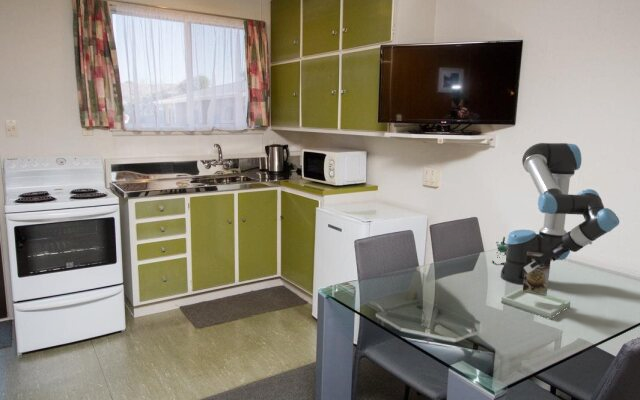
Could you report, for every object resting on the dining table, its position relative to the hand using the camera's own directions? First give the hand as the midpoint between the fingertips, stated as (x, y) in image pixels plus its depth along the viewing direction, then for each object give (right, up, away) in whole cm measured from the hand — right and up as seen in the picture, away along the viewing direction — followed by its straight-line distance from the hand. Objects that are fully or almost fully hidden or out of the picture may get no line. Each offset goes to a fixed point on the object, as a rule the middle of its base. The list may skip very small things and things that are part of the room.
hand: (531, 267), depth 189 cm
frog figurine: (+11, -5, +57) cm, 58 cm away
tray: (+2, -16, +1) cm, 16 cm away
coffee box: (+1, -10, 0) cm, 10 cm away
